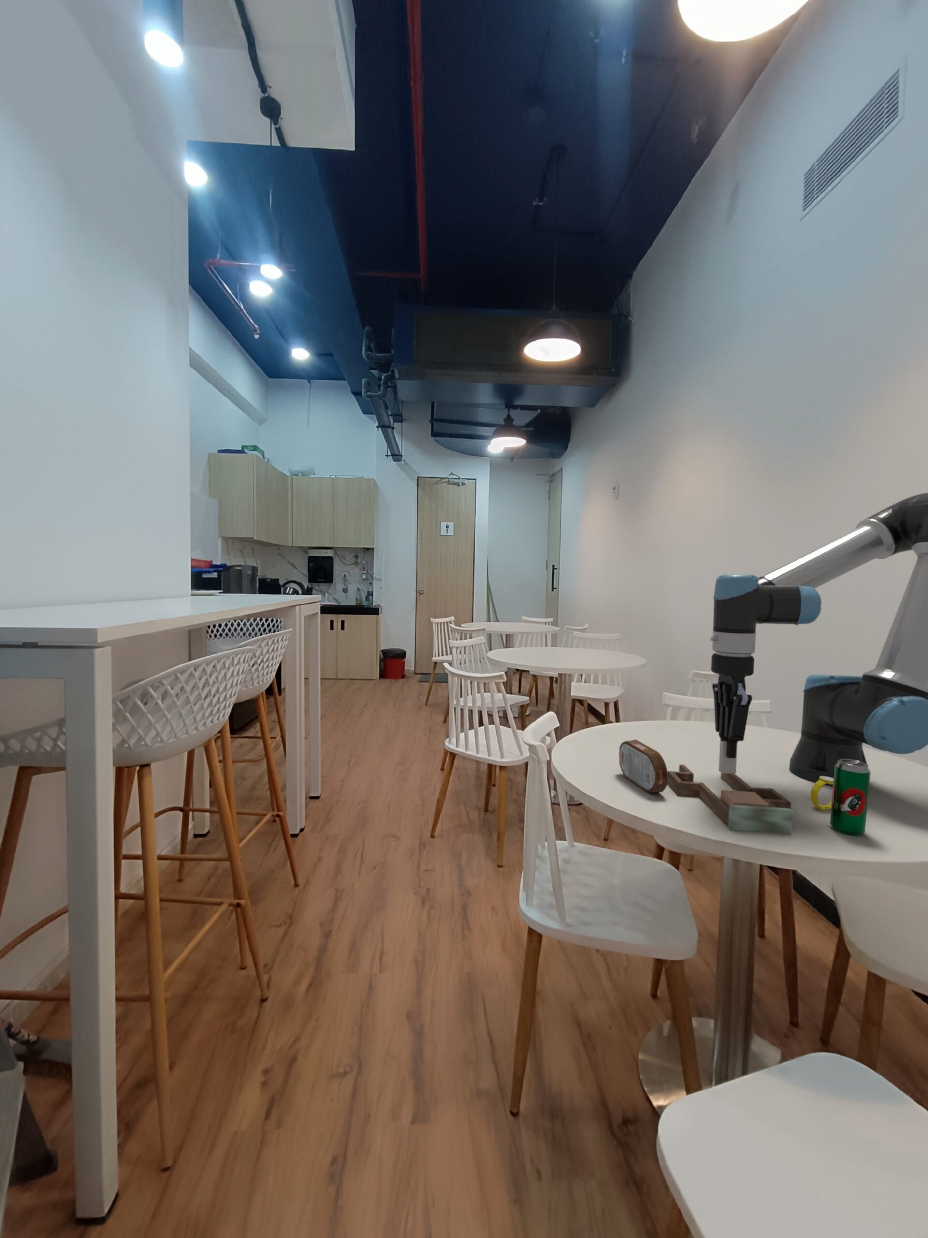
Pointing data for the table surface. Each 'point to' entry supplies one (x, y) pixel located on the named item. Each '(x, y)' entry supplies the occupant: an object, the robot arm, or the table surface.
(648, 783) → the tin
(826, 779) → the watch
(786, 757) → the table surface
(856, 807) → the soda can
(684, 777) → the box
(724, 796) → the block
